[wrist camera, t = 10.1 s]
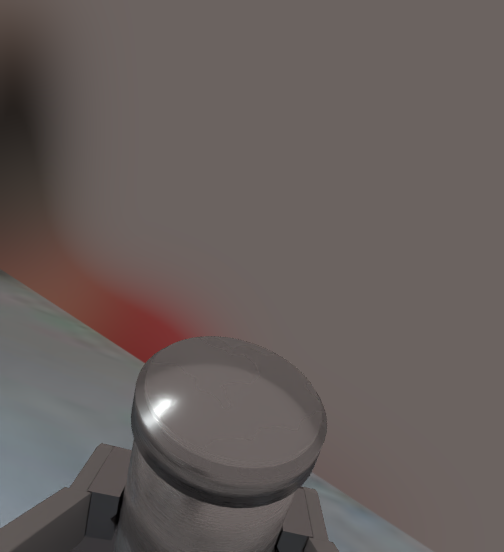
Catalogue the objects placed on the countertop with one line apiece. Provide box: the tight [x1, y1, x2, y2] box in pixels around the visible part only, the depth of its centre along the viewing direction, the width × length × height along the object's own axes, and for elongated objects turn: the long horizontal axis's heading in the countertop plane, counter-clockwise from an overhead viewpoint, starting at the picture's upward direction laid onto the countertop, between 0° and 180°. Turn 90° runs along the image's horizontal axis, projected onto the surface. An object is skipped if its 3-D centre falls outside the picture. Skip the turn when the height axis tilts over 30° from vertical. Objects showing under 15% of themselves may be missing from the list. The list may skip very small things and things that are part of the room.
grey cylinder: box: [113, 336, 327, 552], centre depth 9 cm, size 5×5×11 cm
